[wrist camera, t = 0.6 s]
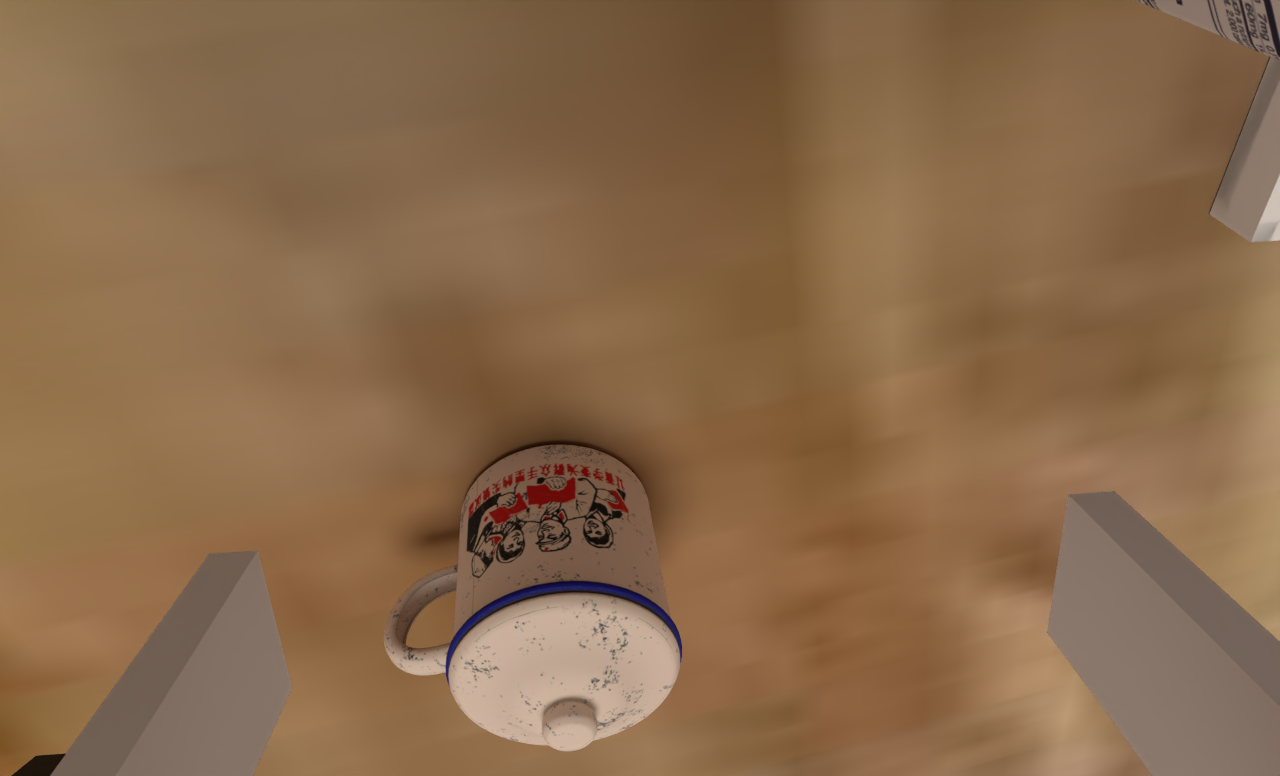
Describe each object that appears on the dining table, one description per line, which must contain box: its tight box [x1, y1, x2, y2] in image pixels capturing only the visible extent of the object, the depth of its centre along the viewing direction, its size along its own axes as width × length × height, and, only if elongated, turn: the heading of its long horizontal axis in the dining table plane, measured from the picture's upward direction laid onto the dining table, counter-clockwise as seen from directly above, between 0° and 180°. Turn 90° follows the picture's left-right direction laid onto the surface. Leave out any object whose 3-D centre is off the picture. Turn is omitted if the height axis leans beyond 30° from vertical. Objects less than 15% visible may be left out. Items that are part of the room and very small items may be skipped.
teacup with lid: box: [384, 445, 682, 751], centre depth 37 cm, size 12×9×12 cm
